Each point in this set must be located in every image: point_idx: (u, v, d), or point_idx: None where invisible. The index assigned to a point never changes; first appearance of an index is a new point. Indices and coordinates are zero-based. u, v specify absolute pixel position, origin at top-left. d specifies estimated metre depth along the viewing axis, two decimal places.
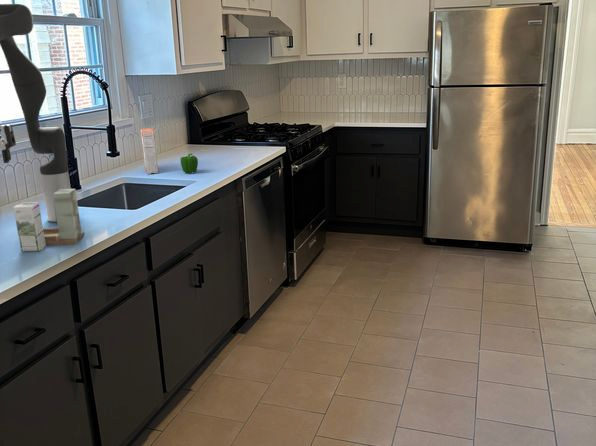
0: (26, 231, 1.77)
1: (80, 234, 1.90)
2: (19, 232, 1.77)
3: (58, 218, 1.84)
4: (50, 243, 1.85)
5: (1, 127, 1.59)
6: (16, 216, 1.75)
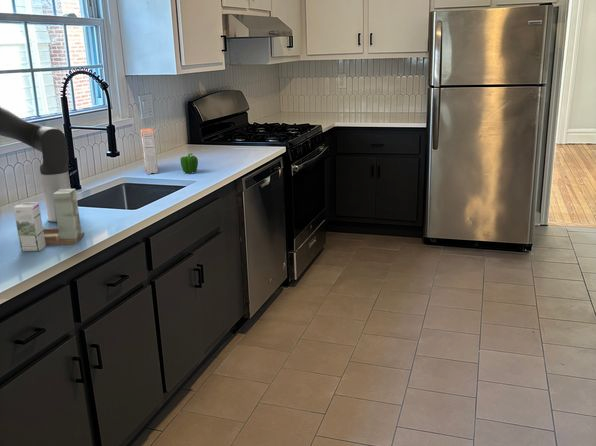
0: (26, 231, 1.77)
1: (80, 234, 1.90)
2: (19, 232, 1.77)
3: (58, 218, 1.84)
4: (50, 243, 1.85)
5: None
6: (16, 216, 1.75)
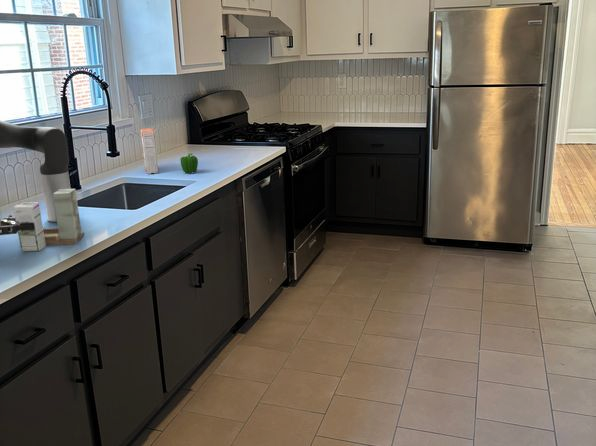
0: (26, 231, 1.77)
1: (80, 234, 1.90)
2: (19, 232, 1.77)
3: (58, 218, 1.84)
4: (50, 243, 1.85)
5: None
6: (16, 216, 1.75)
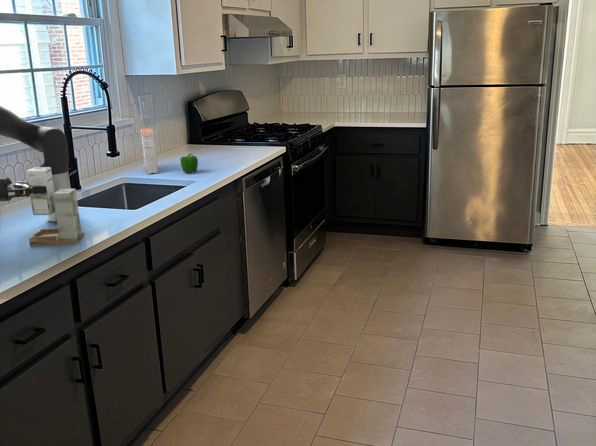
0: (38, 194, 1.81)
1: (80, 234, 1.90)
2: (32, 196, 1.82)
3: (58, 218, 1.84)
4: (50, 243, 1.85)
5: None
6: (29, 180, 1.80)
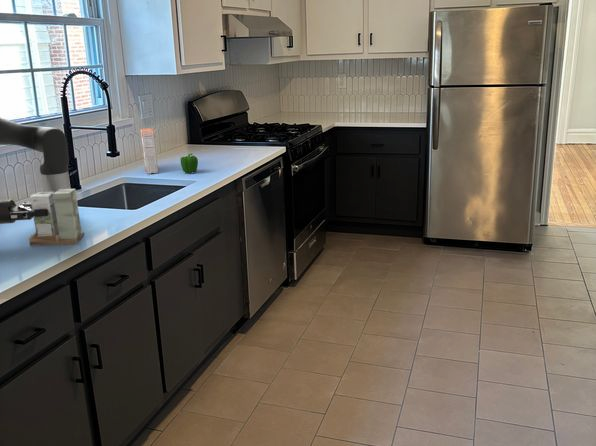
0: (42, 219, 1.84)
1: (80, 234, 1.90)
2: (35, 220, 1.84)
3: (58, 218, 1.84)
4: (50, 243, 1.85)
5: None
6: (33, 205, 1.82)
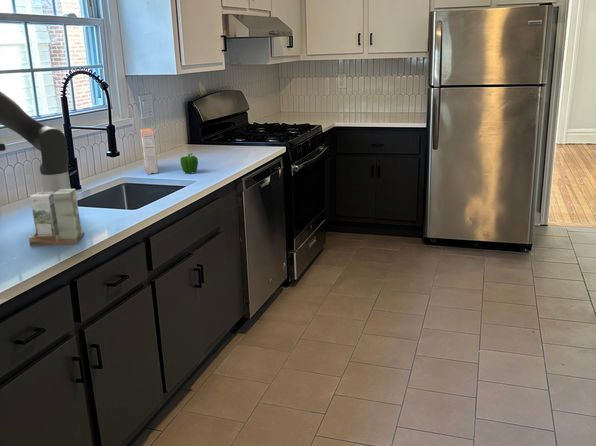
0: (42, 219, 1.84)
1: (80, 234, 1.90)
2: (35, 220, 1.84)
3: (58, 218, 1.84)
4: (50, 243, 1.85)
5: None
6: (33, 205, 1.82)
